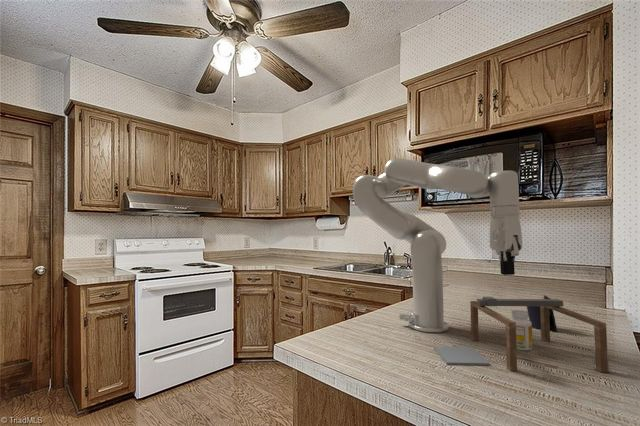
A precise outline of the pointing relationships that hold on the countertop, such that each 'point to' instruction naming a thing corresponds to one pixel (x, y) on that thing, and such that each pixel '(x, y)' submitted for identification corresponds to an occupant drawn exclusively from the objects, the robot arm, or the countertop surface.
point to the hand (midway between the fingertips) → (507, 274)
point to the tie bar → (518, 302)
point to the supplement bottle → (522, 329)
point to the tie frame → (542, 333)
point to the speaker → (536, 316)
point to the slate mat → (460, 356)
